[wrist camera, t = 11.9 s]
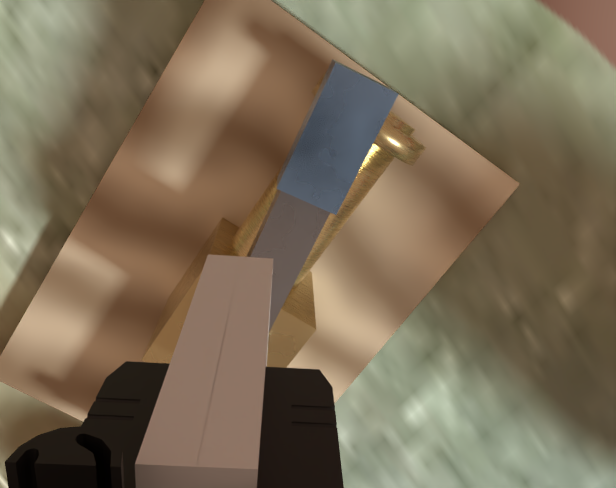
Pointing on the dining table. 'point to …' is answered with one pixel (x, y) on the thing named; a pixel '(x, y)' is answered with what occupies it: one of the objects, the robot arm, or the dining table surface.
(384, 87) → the lever
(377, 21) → the dining table surface
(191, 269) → the valve body
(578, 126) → the dining table surface
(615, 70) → the dining table surface
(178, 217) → the board
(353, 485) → the dining table surface
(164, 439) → the robot arm
